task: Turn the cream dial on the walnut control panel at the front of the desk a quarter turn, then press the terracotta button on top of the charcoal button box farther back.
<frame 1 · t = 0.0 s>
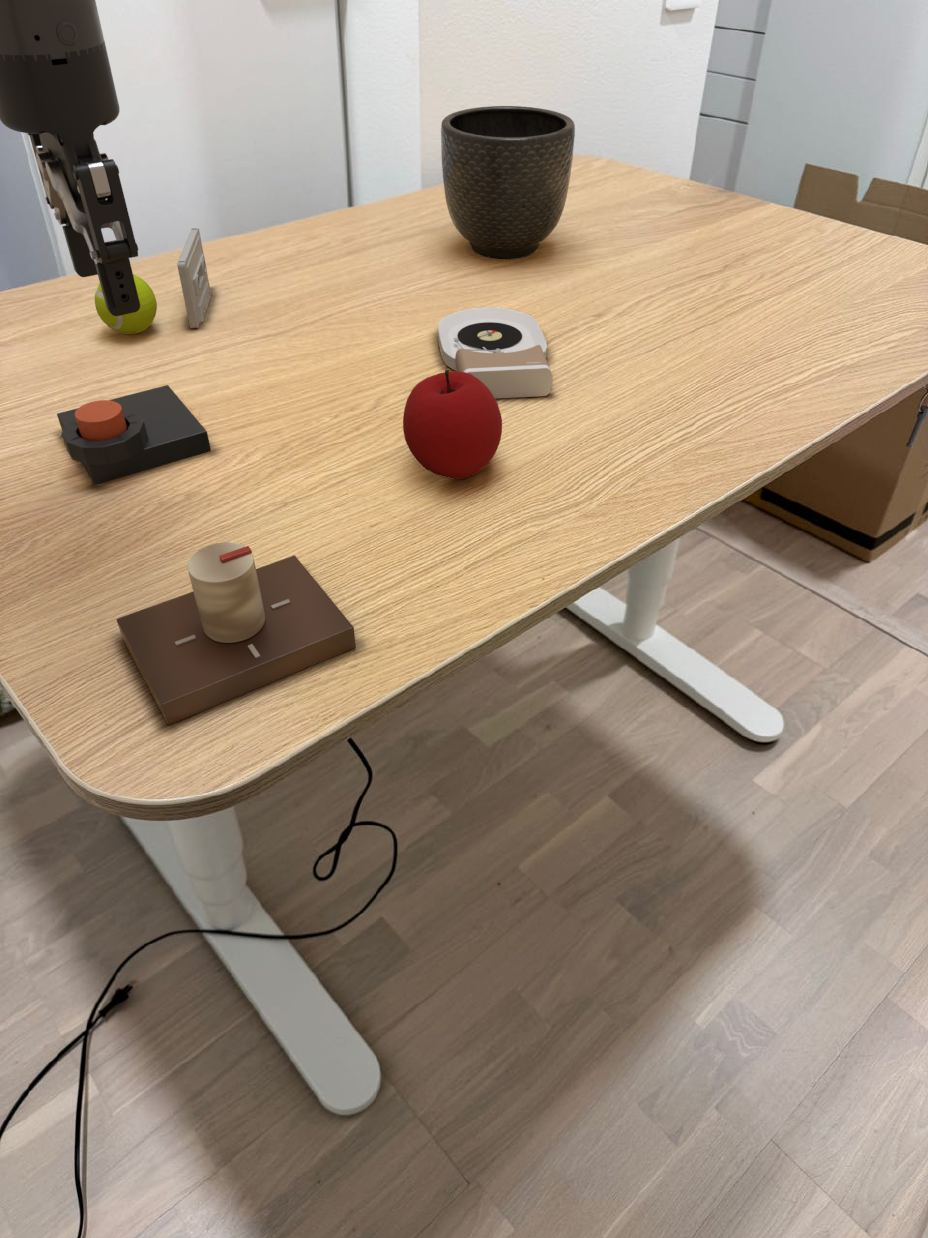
hand: (107, 292, 68), 18 cm above the table, tool pointing down, fingers open, 8 cm apart
button box: (136, 442, 87), on the table
cassette: (201, 310, 111), on the table
tennis ball: (133, 333, 106), on the table
apple: (453, 467, 84), on the table
dial panel: (238, 643, 66), on the table
planter: (504, 250, 126), on the table
dial: (227, 591, 63), point 5 cm above the table, hinge at 0.0°
record player: (493, 357, 101), on the table
button: (101, 420, 81), point 5 cm above the table, slide at 0.1 cm
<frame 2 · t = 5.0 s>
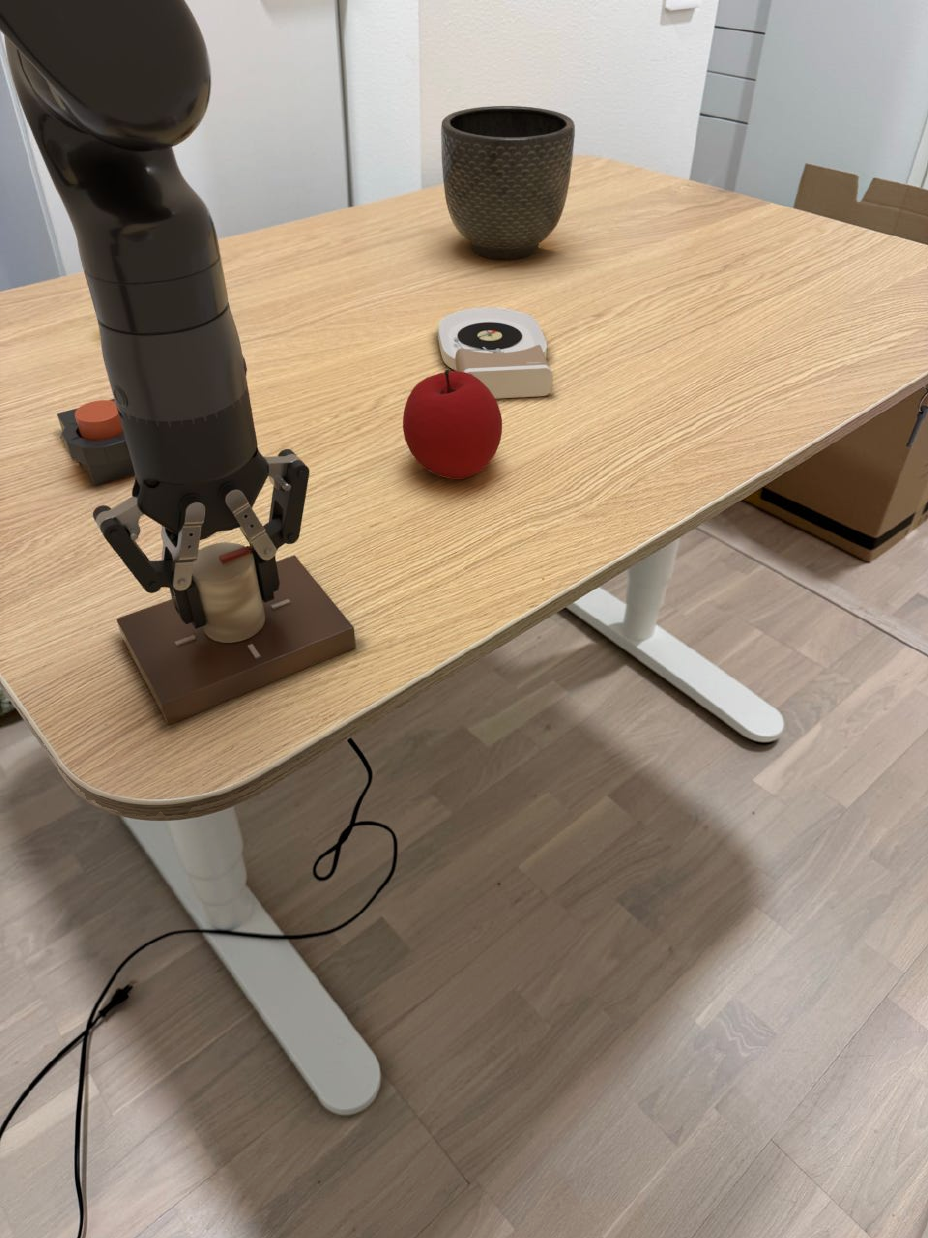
hand: (230, 606, 64), 4 cm above the table, tool pointing down, fingers closed on dial, 4 cm apart
dial: (227, 591, 63), point 5 cm above the table, hinge at 0.0°, touching gripper
everything else where it was.
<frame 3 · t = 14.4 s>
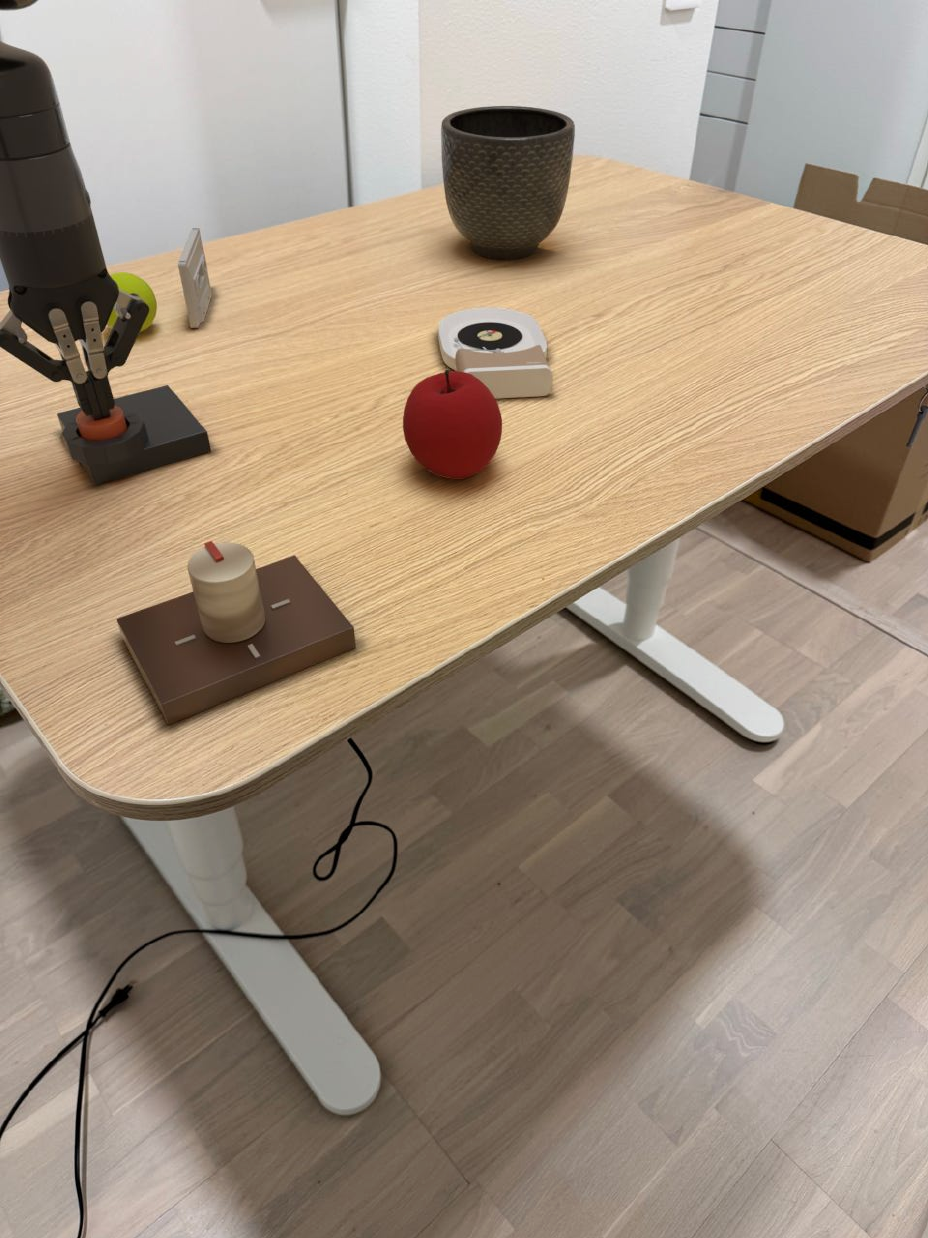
hand: (99, 414, 81), 5 cm above the table, tool pointing down, fingers closed
dial: (227, 591, 63), point 5 cm above the table, hinge at 90.8°
button: (102, 425, 81), point 4 cm above the table, slide at -0.4 cm, touching gripper
everything else where it was.
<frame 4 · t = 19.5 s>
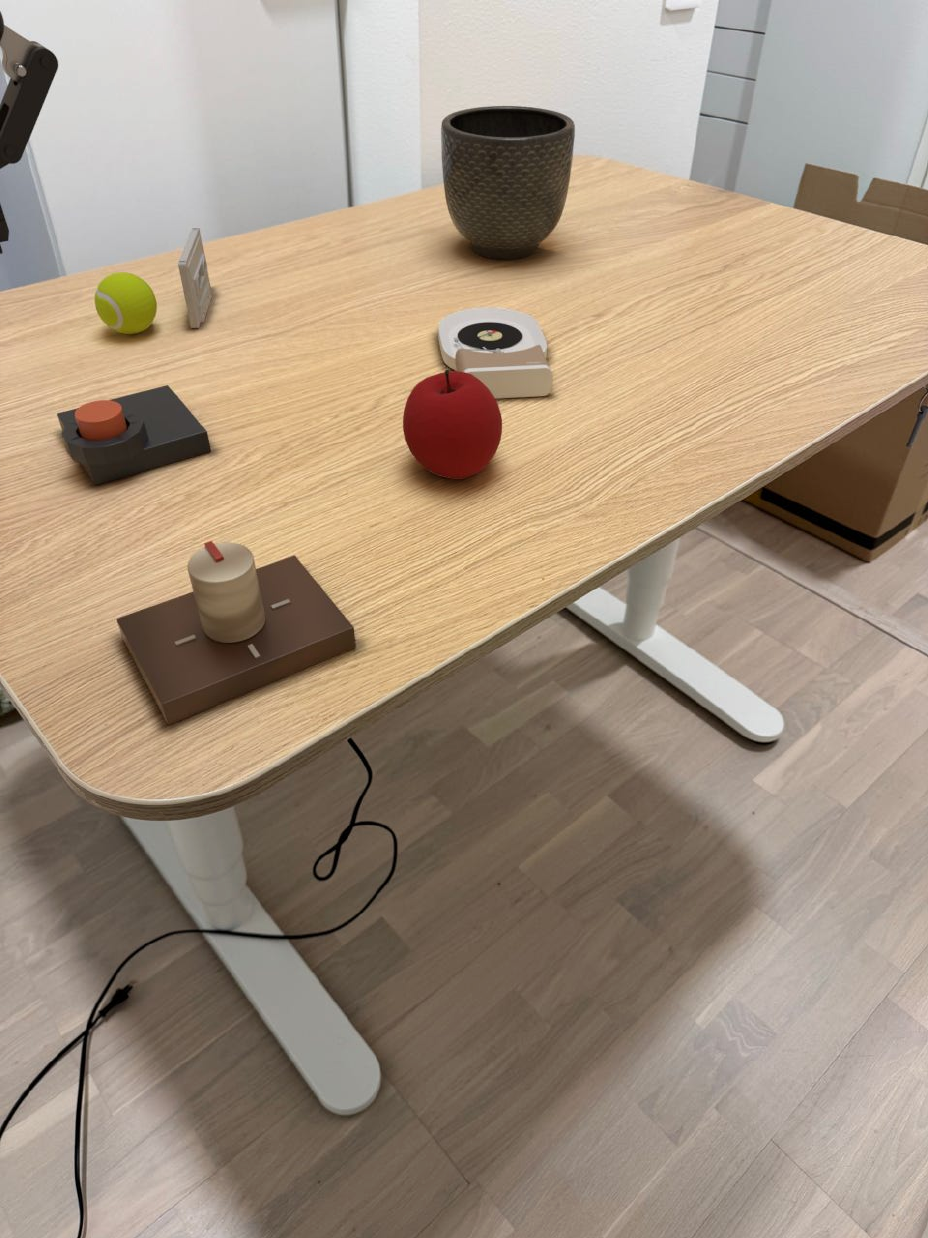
button: (101, 420, 81), point 5 cm above the table, slide at 0.1 cm
everything else where it was.
at the end: dial at +91° (first picture: +0°); button pushed in 1.0 cm at the most during the clip, back to where it started at the end; button slide at 0.1 cm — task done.
